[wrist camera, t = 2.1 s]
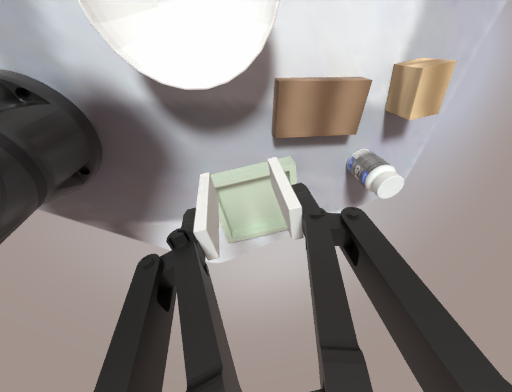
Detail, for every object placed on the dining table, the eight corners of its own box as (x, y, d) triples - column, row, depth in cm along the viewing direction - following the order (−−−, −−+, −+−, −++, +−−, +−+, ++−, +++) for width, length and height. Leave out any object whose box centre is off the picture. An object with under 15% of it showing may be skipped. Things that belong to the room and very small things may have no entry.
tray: (228, 233, 42) (228, 243, 40) (206, 175, 34) (205, 184, 32) (295, 217, 43) (299, 226, 40) (290, 155, 34) (295, 163, 32)
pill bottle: (343, 157, 36) (371, 184, 29) (369, 142, 35) (406, 167, 28) (349, 177, 38) (377, 205, 32) (374, 164, 38) (408, 191, 31)
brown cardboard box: (271, 130, 32) (275, 138, 29) (273, 77, 27) (279, 81, 25) (345, 127, 33) (355, 134, 31) (359, 76, 29) (372, 80, 26)
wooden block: (385, 110, 32) (409, 120, 28) (394, 64, 28) (423, 68, 24) (410, 104, 32) (438, 113, 28) (422, 57, 28) (456, 60, 24)
